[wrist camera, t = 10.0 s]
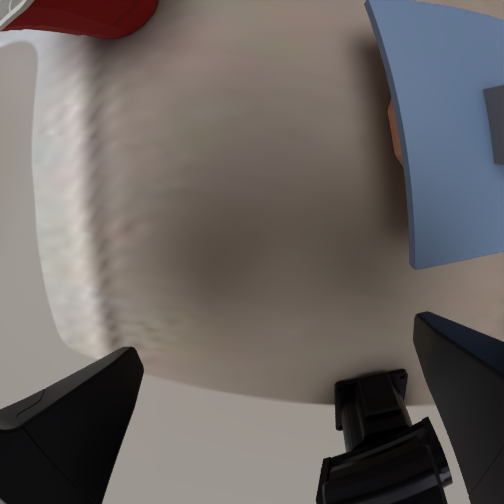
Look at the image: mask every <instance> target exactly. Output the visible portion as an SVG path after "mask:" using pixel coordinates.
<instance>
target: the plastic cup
mask: <svg viewBox="0 0 504 504" xmlns="http://www.w3.org/2000/svg"><path fill="white" fill-rule="evenodd" d="M157 4H158V0H0V32H1V31H9V30H23V29H32V30H43V31H52V32H60V33H67V34H74V35H87V36H92V37H97V38H101V39H119V38H121V37H124V36H127V35H129V34H132V33H133V32H135V31H136V30H137V29H139V28H140V27H142V26H143V25H144V24H145V23H146V22H147V21H148V19H149V18H150V17H151V16H152V15H153V13H154V11H155V9H156V6H157Z"/></svg>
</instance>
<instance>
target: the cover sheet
mask: <svg viewBox="0 0 504 504" xmlns="http://www.w3.org/2000/svg"><path fill="white" fill-rule="evenodd" d="M364 5H365V7H366V10H367V13H368V16H369V19H370V22H371V25H372V28H373V31H374V34H375V37H376V40H377V44H378V47H379V50H380V54H381V57H382V61H383V65H384V69H385V72H386V76H387V80H388V85H389V89H390V93H391V98H392V103H393V107H394V112H395V118H396V123H397V129H398V134H399V140H400V147H401V154H402V161H403V169H404V177H405V187H406V198H407V210H408V226H409V255H410V265H411V266H412V267H413V268H414V269H415V270H417V269H423V268H428V267H433V266H438V265H443V264H448V263H453V262H458V261H463V260H467V259H472V258H477V257H481V256H486V255H490V254H495V253H499V252H504V20H501V19H498V18H495V17H491V16H488V15H484V14H480V13H477V12H473V11H468V10H464V9H459V8H455V7H450V6H444V5H438V4H432V3H425V2H418V1H409V0H366V2H365V4H364Z"/></svg>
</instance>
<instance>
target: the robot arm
mask: <svg viewBox="0 0 504 504" xmlns="http://www.w3.org/2000/svg"><path fill="white" fill-rule="evenodd" d="M413 342H414V346H415V349H416V352H417V355H418V358H419V361H420V364H421V367H422V370H423V374H424V377H425V380H426V383H427V385H428V388H429V390H430V392H431V395H432V397H433V399H434V402H435V404H436V406H437V409H438V411H439V413H440V416H441V418H442V421H443V423H444V426H445V428H446V431H447V434H448V436H449V439H450V442H451V444H452V447H453V449H454V452H455V455H456V458H457V461H458V464H459V467H460V470H461V473H462V476H463V479H464V482H465V486H466V488H467V492H468V494H469V500H470V503H471V504H504V342H503V341H500V340H498V339H495V338H493V337H490V336H488V335H486V334H483V333H481V332H478V331H476V330H473V329H471V328H468V327H466V326H463V325H461V324H458V323H456V322H453V321H451V320H448V319H446V318H443V317H441V316H438V315H436V314H433V313H431V312H428V311H426V312H422V313H418V314H416V315H415V319H414V331H413ZM143 373H144V368H143V364H142V362H141V360H140V358H139V355H138V353H137V351H136V349H135V348H134V347H122V348H120V349H118V350H116V351H114V352H112V353H111V354H109V355H107V356H105V357H103V358H101V359H100V360H98V361H96V362H94V363H92V364H90V365H88V366H87V367H85V368H83V369H81V370H79V371H77V372H75V373H74V374H71V375H70V376H68V377H66V378H64V379H62V380H60V381H58V382H56V383H54V384H53V385H51V386H49V387H47V388H46V389H43V390H41V391H39V392H37V393H35V394H33V395H31V396H29V397H27V398H25V399H23V400H21V401H18V402H16V403H14V404H12V405H9V406H7V407H5V408H3V409H0V504H102V502H103V499H104V495H105V492H106V489H107V486H108V483H109V480H110V476H111V473H112V471H113V468H114V464H115V461H116V459H117V455H118V453H119V450H120V447H121V444H122V441H123V438H124V436H125V433H126V430H127V427H128V425H129V422H130V419H131V416H132V414H133V411H134V408H135V404H136V400H137V396H138V392H139V388H140V385H141V381H142V377H143ZM401 375H402V376H401ZM407 378H408V374H407V372H406V370H399V371H394V372H390V373H385V374H380V375H376V376H370V377H365V378H360V379H354V380H348V381H342V382H338V383H336V384H335V387H334V389H335V418H336V430H339V431H342V430H343V433H344V440H345V447H346V453H344V454H341V455H338V456H335V457H332V458H331V457H328V458H325V459H323V464H322V468H321V474H320V479H319V485H318V491H317V496H316V503H317V504H447V500H446V496H445V493H444V489H443V488H444V487H446V486H448V485H450V484H452V483H453V482H452V477H451V473H450V469H449V467H448V463H447V460H446V457H445V454H444V452H443V449H442V447H441V444H440V442H439V440H438V437H437V435H436V433H435V431H434V428H433V426H432V424H431V422H430V420H429V417H426V418H424V419H422V421H420V422H418V423H416V424H414V425H412V423H411V420H410V417H409V414H408V411H407V409H406V406H405V403H404V397H405V391H406V384H407ZM339 387H342V388H339Z"/></svg>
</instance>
